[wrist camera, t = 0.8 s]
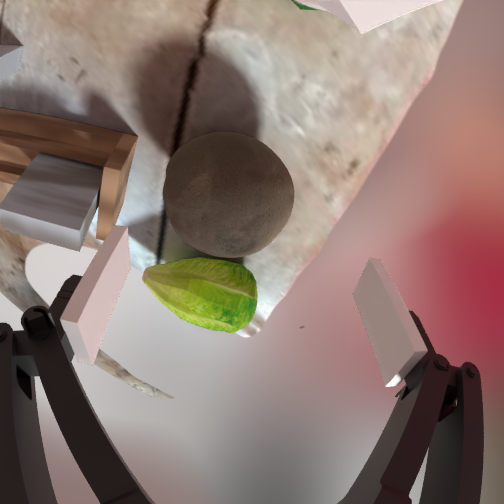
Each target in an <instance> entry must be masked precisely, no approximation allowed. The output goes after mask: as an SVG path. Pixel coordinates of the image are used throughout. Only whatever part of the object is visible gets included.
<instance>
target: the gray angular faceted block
mask: <svg viewBox="0 0 504 504" xmlns="http://www.w3.org/2000/svg"><path fill="white" fill-rule="evenodd" d="M22 51H23V46H19V45H0V82H1V81H3V80H4V79H6V78H8V77H9V76H11V75H12V74H14V73H16V72H17V71H19V70H20V65H21V58H22Z"/></svg>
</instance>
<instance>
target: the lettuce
mask: <svg viewBox="0 0 504 504" xmlns="http://www.w3.org/2000/svg"><path fill="white" fill-rule="evenodd" d="M142 280H143V281H144V283H145V285H146V286H147V287H148V288H149V289H150V290H151V292H152V293H153V294H154V295H155V297H156V298H157V299H158V300H159V301H160V302H162V304H164V305H165V306H166V307H167V308H169V309H170V310H171V311H172V312H174V313H175V314H176V315H177V316H178V317H180V318H181V319H183V320H185V321H188V322H190V323H192V324H195V325H197V326H200V327H203V328H206V329H210V330H215V331H226V332H229V333H234V332H236V331H238V330H240V329H241V328H243V327H245V326H246V325H248V324H249V322H250V321H251V320H252V318H253V316H254V313H255V310H256V306H257V285H256V280H255V278H254V276H253V274H252V273H251V272H250V271H249V270H248V269H247V268H245V267H244V266H243V265H241V264H238V263H234V262H230V261H227V260H217V259H209V258H202V257H198V258H190V259H183V260H177V261H172V262H169V263H165V264H159V265H154V266H150V267H148V268H146V269H145V271H144V274H143V278H142Z"/></svg>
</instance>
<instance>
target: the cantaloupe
mask: <svg viewBox="0 0 504 504" xmlns="http://www.w3.org/2000/svg"><path fill="white" fill-rule="evenodd" d="M163 199H164V204H165V209H166V212H167V215H168V217H169V219H170V221H171V224H172V226H173V228H174V229H175V231H176V232H177V234H178V235H179V236H180V237H181V238H182V239H183V240H184V241H185V242H186V243H187V244H189V245H190V246H191V247H193V248H195V249H197V250H199V251H202V252H204V253H207V254H210V255H213V256H218V257H227V258H235V257H243V256H247V255H250V254H253V253H256V252H258V251H260V250H261V249H263V248H264V247H266V246H267V245H269V244H270V243H271V242H272V241H273V240H274V239H275V238H276V237H277V236H278V234H279V233H280V232H281V231H282V229H283V228H284V226H285V225H286V223H287V222H288V220H289V217H290V215H291V212H292V208H293V202H294V186H293V182H292V179H291V176H290V174H289V172H288V170H287V168H286V167H285V165H284V164H283V162H282V161H281V159H280V158H279V157H278V156H277V155H276V154H275V153H274V152H273V151H272V150H271V149H270V148H269V147H268V146H266V145H265V144H264V143H262V142H261V141H259V140H257V139H255V138H253V137H250V136H247V135H243V134H240V133H236V132H226V131H223V132H213V133H207V134H204V135H201V136H198V137H195V138H193V139H191V140H189V141H187V142H186V143H184V144H183V145H182V146H181V147H179V148H178V149H177V151H176V152H175V153H174V154H173V156H172V158H171V159H170V161H169V163H168V165H167V168H166V179H165V183H164V187H163Z"/></svg>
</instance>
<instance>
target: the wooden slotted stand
mask: <svg viewBox="0 0 504 504" xmlns="http://www.w3.org/2000/svg"><path fill="white" fill-rule="evenodd" d="M137 139H138V136H134V135H130V134H126V133H122V132H118V131H114V130H110V129H106V128H102V127H97V126H93V125H89V124H84V123H80V122H75V121H70V120H65V119H61V118H55V117H50V116H45V115H40V114H34V113H28V112H23V111H16V110H10V109H3V108H0V181H2V182H6V183H9V184H13V187H12V188H11V190H10V191H9V192H8V194H7V195H6V197H5V198H4V200H3V201H2V203H1V204H0V221H1V225H2V229H3V230H6V231H9V232H13V233H16V234H19V235H23V236H26V237H30V238H33V239H36V240H40V241H43V242H47V243H50V244H54V245H58V246H61V247H65V248H68V249H72V250H75V251H80V249H81V247H82V244H83V241H84V239H85V236H86V234H87V231H88V229H89V227H90V224H91V222H92V219H93V217H94V215H95V213H96V210H97V208H98V207H99V210H98V220H97V232H96V239H100V240H105V239H106V237H107V236H108V234H109V233H110V231H111V229H112V228H113V226H114V225H115V224H116V222H117V219H118V216H119V213H120V211H121V208H122V205H123V202H124V197H125V192H126V187H127V182H128V177H129V172H130V168H131V164H132V159H133V155H134V151H135V147H136V143H137Z"/></svg>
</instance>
